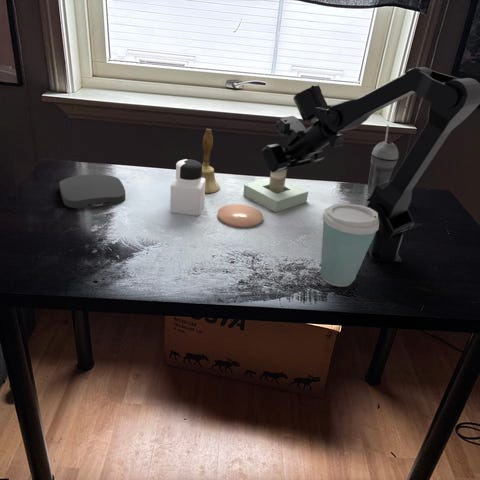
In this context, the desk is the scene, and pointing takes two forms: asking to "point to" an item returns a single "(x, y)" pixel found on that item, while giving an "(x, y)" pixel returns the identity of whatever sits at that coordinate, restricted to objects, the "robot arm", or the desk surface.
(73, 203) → the media streaming box
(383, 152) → the beverage cup
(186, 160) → the medicine bottle
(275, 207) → the socket block
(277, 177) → the beige cylinder
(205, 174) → the hand bell
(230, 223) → the terracotta coaster
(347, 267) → the disposable coffee cup
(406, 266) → the desk surface
